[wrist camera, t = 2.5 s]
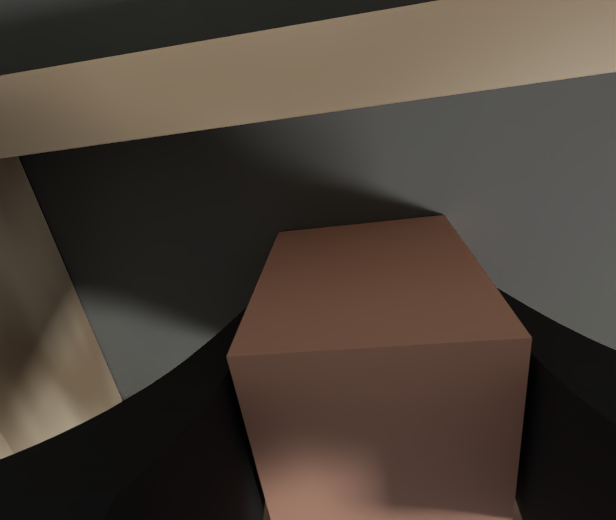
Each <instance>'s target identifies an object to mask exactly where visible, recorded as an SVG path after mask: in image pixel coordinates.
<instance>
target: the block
mask: <svg viewBox="0 0 616 520" xmlns="http://www.w3.org/2000/svg"><path fill="white" fill-rule="evenodd" d="M531 344H532V337H531V335H530V334H529V333H528V331H527V330H526V328H525V327H524V326H523V324H522V323H521V321H520V320H519V319H518V317H517V316H516V314H515V313H514V312H513V310H512V309H511V307H510V306H509V305H508V303H507V302H506V300H505V299H504V298H503V296H502V295H501V293H500V292H499V291H498V289H497V288H496V286H495V285H494V284H493V282H492V281H491V279H490V278H489V277H488V275H487V274H486V272H485V271H484V270H483V268H482V267H481V265H480V264H479V263H478V261H477V260H476V258H475V257H474V256H473V254H472V253H471V251H470V250H469V249H468V247H467V246H466V244H465V243H464V242H463V240H462V239H461V237H460V236H459V235H458V233H457V232H456V230H455V229H454V228H453V226H452V225H451V223H450V222H449V221H448V219H447V218H446V216H445V215H439V216H429V217H420V218H410V219H400V220H391V221H381V222H371V223H361V224H352V225H342V226H332V227H323V228H313V229H303V230H293V231H284V232H278V235H277V237H276V240H275V242H274V244H273V247H272V249H271V251H270V254H269V256H268V259H267V261H266V263H265V266H264V268H263V271H262V273H261V275H260V278H259V280H258V282H257V285H256V287H255V290H254V292H253V294H252V297H251V299H250V302H249V304H248V306H247V309H246V311H245V313H244V316H243V318H242V321H241V323H240V325H239V328H238V330H237V332H236V335H235V337H234V340H233V342H232V344H231V347H230V349H229V352H228V354H227V356H226V357H227V361H228V365H229V368H230V372H231V376H232V379H233V383H234V387H235V390H236V394H237V398H238V401H239V405H240V409H241V412H242V416H243V420H244V423H245V427H246V431H247V434H248V438H249V442H250V445H251V449H252V453H253V456H254V460H255V464H256V467H257V471H258V475H259V478H260V482H261V486H262V489H263V493H264V497H265V500H266V504H267V508H268V511H269V515H270V519H271V520H513V513H514V503H515V494H516V485H517V475H518V466H519V456H520V447H521V438H522V428H523V419H524V409H525V400H526V391H527V381H528V372H529V362H530V353H531Z"/></svg>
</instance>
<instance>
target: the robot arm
mask: <svg viewBox="0 0 616 520" xmlns="http://www.w3.org/2000/svg"><path fill="white" fill-rule="evenodd" d="M497 289H498V288H497ZM498 291H499V292H500V293H501V295H502V296H503V298H504V299H505V300H506V302H507V303H508V305H509V306H510V307H511V309H512V310H513V312H514V313H515V314H516V316H517V317H518V319H519V320H520V321H521V323H522V324H523V326H524V327H525V328H526V330H527V331H528V333H529V334H530V335H531V337H532V344H531V353H530V362H529V372H528V381H527V391H526V400H525V409H524V419H523V428H522V438H521V447H520V456H519V466H518V475H517V485H516V494H515V499H516V502H517V505H518V508H519V511H520V514H521V517H522V520H616V350H614V349H612V348H609V347H607V346H604V345H602V344H600V343H598V342H596V341H593V340H591V339H589V338H587V337H585V336H583V335H581V334H579V333H577V332H575V331H573V330H571V329H569V328H567V327H565V326H563V325H561V324H559V323H557V322H555V321H554V320H552V319H550V318H548V317H546V316H544V315H542V314H541V313H539V312H537V311H535V310H534V309H532V308H530V307H528V306H527V305H525V304H523V303H522V302H520V301H518V300H516V299H515V298H513V297H511V296H510V295H508V294H506V293H505V292H503V291H501V290H500V289H498ZM246 309H247V307H246V308H245V309H244V310H243V311H242V312H241V313H240V314H239V315H238V316H236V317H235V318H234V319H233V320H232V321H231V322H230V323H229V324H228V325H227V326H226V327H224V328H223V329H222V330H221V331H220V332H219V333H218V334H217V335H216V336H214V337H213V338H212V339H211V340H210V341H208V342H207V343H206V344H205V345H204V346H202V347H201V348H200V349H199V350H197V351H196V352H195V353H194V354H193V355H191V356H190V357H189V358H188V359H186V360H185V361H184V362H182V363H181V364H180V365H178V366H177V367H176V368H174V369H173V370H171V371H170V372H169V373H167V374H166V375H164V376H163V377H161V378H160V379H158V380H157V381H155V382H154V383H152V384H151V385H149V386H148V387H146V388H144V389H143V390H141V391H139V392H138V393H136V394H134V395H132V396H131V397H129V398H127V399H126V400H124V401H122V402H120V403H119V404H117V405H115V406H114V407H112V408H110V409H108V410H107V411H105V412H103V413H101V414H99V415H97V416H95V417H93V418H91V419H89V420H87V421H85V422H83V423H82V424H80V425H77V426H75V427H73V428H71V429H69V430H67V431H65V432H63V433H61V434H59V435H56V436H54V437H52V438H50V439H48V440H45V441H43V442H41V443H39V444H36V445H34V446H32V447H29V448H27V449H24V450H22V451H19V452H17V453H15V454H12V455H10V456H7V457H5V458H2V459H0V520H263V515H264V507H265V497H264V493H263V489H262V486H261V482H260V478H259V475H258V471H257V467H256V464H255V460H254V456H253V453H252V449H251V445H250V442H249V438H248V434H247V431H246V427H245V423H244V420H243V416H242V412H241V409H240V405H239V401H238V398H237V394H236V390H235V387H234V383H233V379H232V376H231V372H230V368H229V365H228V361H227V357H226V356H227V354H228V352H229V349H230V347H231V344H232V342H233V340H234V337H235V335H236V332H237V330H238V328H239V325H240V323H241V321H242V318H243V316H244V313H245V311H246Z"/></svg>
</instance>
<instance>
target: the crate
mask: <svg viewBox="0 0 616 520" xmlns="http://www.w3.org/2000/svg"><path fill="white" fill-rule="evenodd" d="M611 72H616V0H437V1H431V2H426V3H420V4H414V5H408V6H402V7H397V8H391V9H385V10H379V11H373V12H367V13H362V14H356V15H350V16H344V17H338V18H333V19H327V20H321V21H315V22H309V23H303V24H298V25H292V26H286V27H280V28H274V29H269V30H263V31H257V32H251V33H245V34H239V35H234V36H228V37H222V38H216V39H210V40H204V41H199V42H193V43H187V44H181V45H175V46H170V47H164V48H158V49H152V50H146V51H140V52H135V53H129V54H123V55H117V56H111V57H106V58H100V59H94V60H88V61H82V62H76V63H71V64H65V65H59V66H53V67H47V68H42V69H36V70H30V71H24V72H18V73H12V74H7V75H1V76H0V459H2V458H5V457H7V456H10V455H12V454H15V453H17V452H19V451H22V450H24V449H27V448H29V447H32V446H34V445H36V444H39V443H41V442H43V441H45V440H48V439H50V438H52V437H54V436H56V435H59V434H61V433H63V432H65V431H67V430H69V429H71V428H73V427H75V426H77V425H80V424H82V423H83V422H85V421H87V420H89V419H91V418H93V417H95V416H97V415H99V414H101V413H103V412H105V411H107V410H108V409H110V408H112V407H114V406H115V405H117V404H119V403H120V402H122V399H121V396H120V394H119V392H118V389H117V387H116V385H115V382H114V380H113V378H112V375H111V373H110V371H109V368H108V366H107V364H106V361H105V359H104V357H103V354H102V352H101V349H100V347H99V345H98V342H97V340H96V338H95V335H94V333H93V331H92V328H91V326H90V324H89V321H88V319H87V317H86V314H85V312H84V310H83V307H82V305H81V303H80V300H79V298H78V296H77V293H76V291H75V288H74V286H73V284H72V281H71V279H70V277H69V274H68V272H67V270H66V267H65V265H64V263H63V260H62V258H61V256H60V253H59V251H58V249H57V246H56V244H55V242H54V239H53V237H52V234H51V232H50V230H49V227H48V225H47V223H46V220H45V218H44V216H43V213H42V211H41V209H40V206H39V204H38V202H37V199H36V197H35V195H34V192H33V190H32V188H31V185H30V183H29V180H28V178H27V176H26V173H25V171H24V169H23V166H22V164H21V162H20V159H19V157H18V156H22V155H29V154H36V153H43V152H50V151H58V150H65V149H72V148H79V147H86V146H93V145H100V144H107V143H114V142H121V141H128V140H136V139H143V138H150V137H157V136H164V135H171V134H178V133H185V132H192V131H199V130H206V129H214V128H221V127H228V126H235V125H242V124H249V123H256V122H263V121H270V120H277V119H284V118H292V117H299V116H306V115H313V114H320V113H327V112H334V111H341V110H348V109H355V108H362V107H370V106H377V105H384V104H391V103H398V102H405V101H412V100H419V99H426V98H433V97H441V96H448V95H455V94H462V93H469V92H476V91H483V90H490V89H497V88H504V87H511V86H519V85H526V84H533V83H540V82H547V81H554V80H561V79H568V78H575V77H582V76H589V75H597V74H604V73H611ZM263 520H271V519H270V515H269V511H268V508H267V504H266V500H265V507H264V515H263ZM513 520H522V517H521V514H520V511H519V508H518V505H517V502H516V499H515V503H514V513H513Z"/></svg>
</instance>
